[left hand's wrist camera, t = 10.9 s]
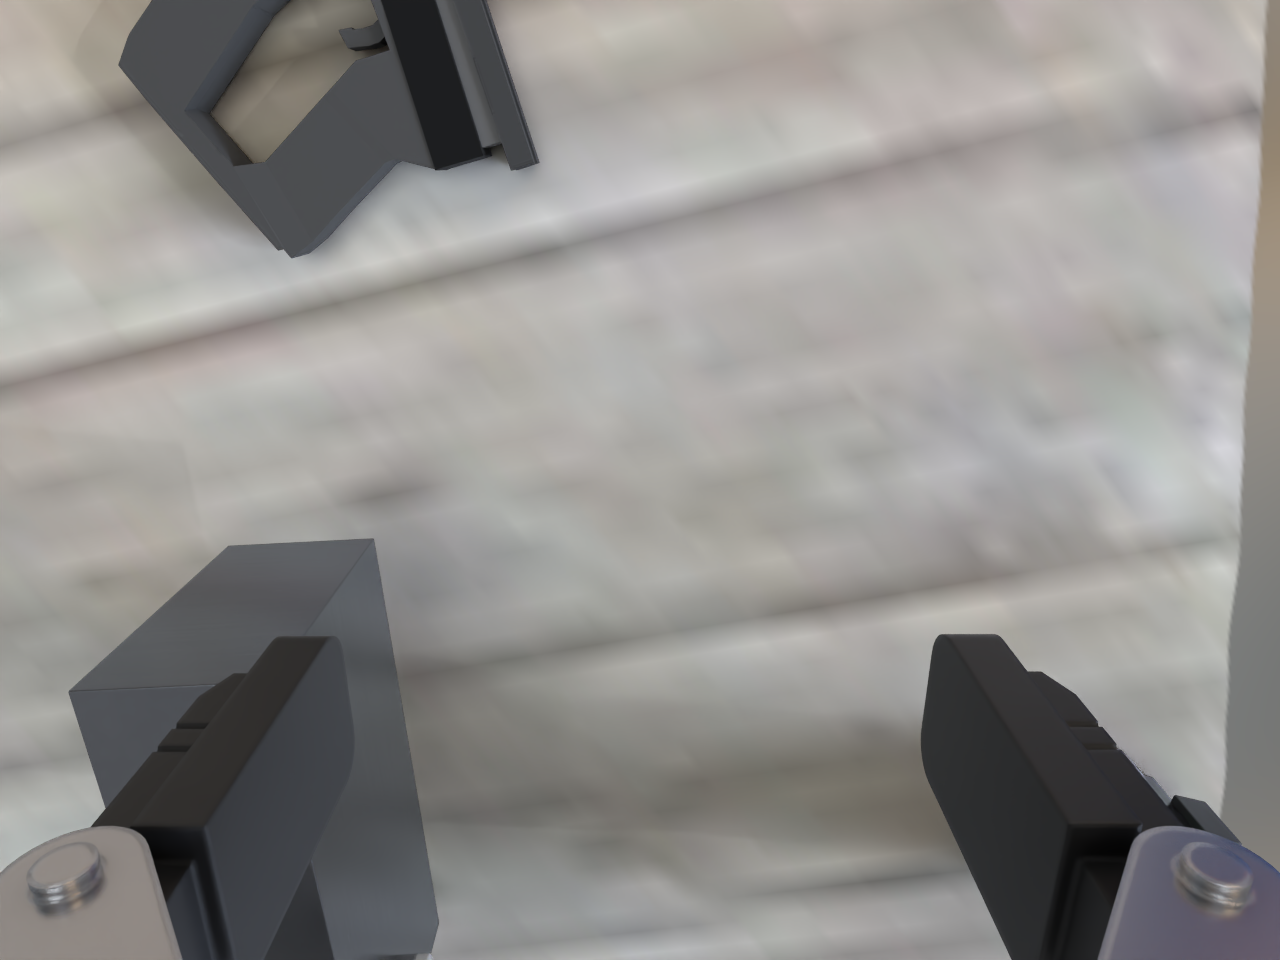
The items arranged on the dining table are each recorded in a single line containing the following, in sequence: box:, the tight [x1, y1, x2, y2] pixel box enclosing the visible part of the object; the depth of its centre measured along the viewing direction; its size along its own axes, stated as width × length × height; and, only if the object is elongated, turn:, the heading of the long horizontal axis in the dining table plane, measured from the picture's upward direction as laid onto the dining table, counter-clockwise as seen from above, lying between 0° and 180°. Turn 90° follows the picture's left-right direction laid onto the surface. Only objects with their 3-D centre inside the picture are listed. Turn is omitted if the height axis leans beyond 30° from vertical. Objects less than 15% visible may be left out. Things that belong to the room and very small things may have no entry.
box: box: [69, 539, 439, 960], centre depth 33 cm, size 20×6×11 cm, turn 3°
